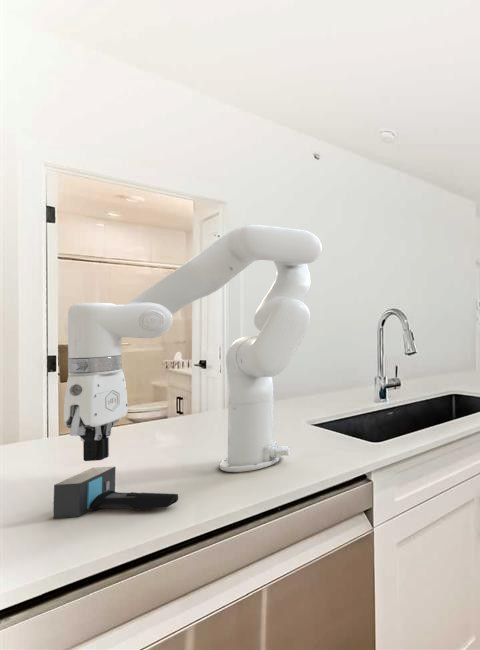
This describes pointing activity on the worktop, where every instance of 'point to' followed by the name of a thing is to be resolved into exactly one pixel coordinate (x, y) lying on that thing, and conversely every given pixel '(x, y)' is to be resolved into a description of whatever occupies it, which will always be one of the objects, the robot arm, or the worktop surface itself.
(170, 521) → the worktop surface
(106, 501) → the electric trimmer
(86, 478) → the dark grey box
